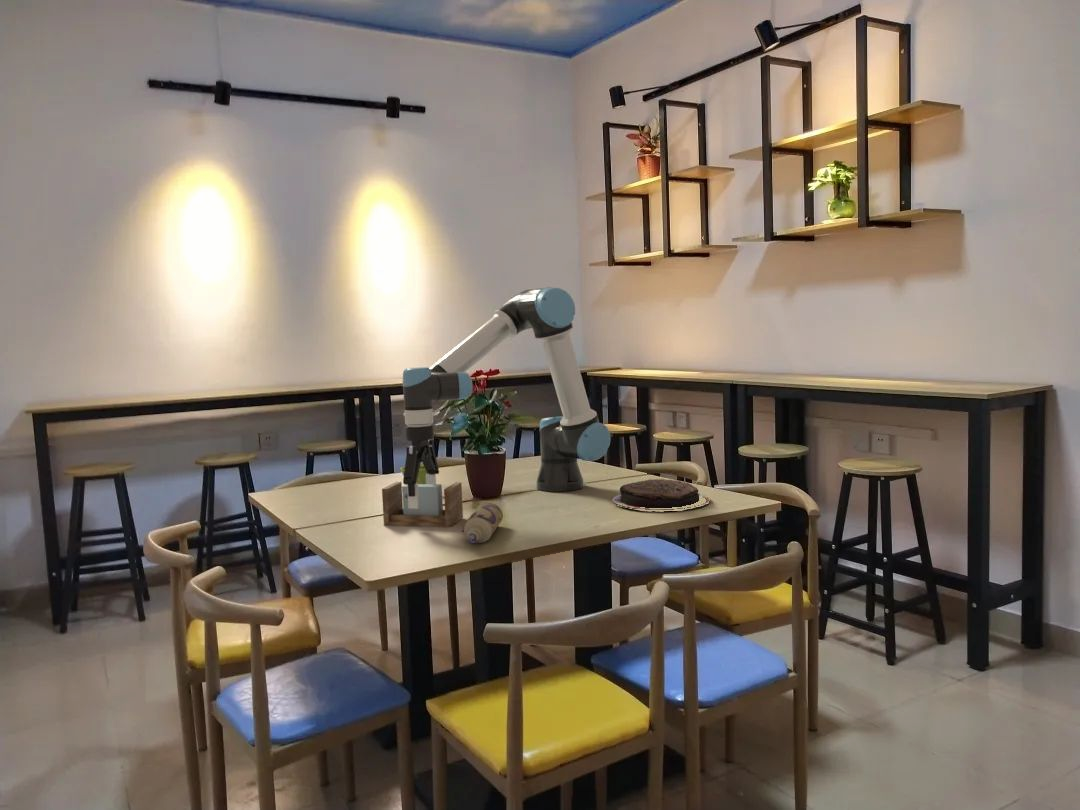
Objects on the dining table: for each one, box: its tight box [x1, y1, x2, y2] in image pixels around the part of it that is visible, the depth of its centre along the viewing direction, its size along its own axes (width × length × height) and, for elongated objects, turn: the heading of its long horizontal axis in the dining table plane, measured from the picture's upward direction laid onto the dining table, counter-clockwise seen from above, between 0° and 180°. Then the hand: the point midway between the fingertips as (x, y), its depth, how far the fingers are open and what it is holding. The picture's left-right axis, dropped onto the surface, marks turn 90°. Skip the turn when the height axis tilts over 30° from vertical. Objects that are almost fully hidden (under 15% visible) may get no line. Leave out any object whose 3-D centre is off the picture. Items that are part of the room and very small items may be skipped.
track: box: [381, 481, 464, 528], centre depth 228 cm, size 19×10×10 cm, turn 77°
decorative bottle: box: [461, 502, 504, 544], centre depth 208 cm, size 26×8×7 cm, turn 173°
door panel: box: [402, 483, 444, 515], centre depth 227 cm, size 10×4×9 cm, turn 77°
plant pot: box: [400, 464, 427, 485], centre depth 268 cm, size 9×9×9 cm
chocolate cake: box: [612, 478, 711, 510], centre depth 242 cm, size 28×28×7 cm
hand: (423, 502), depth 228 cm, fingers open, 13 cm apart
